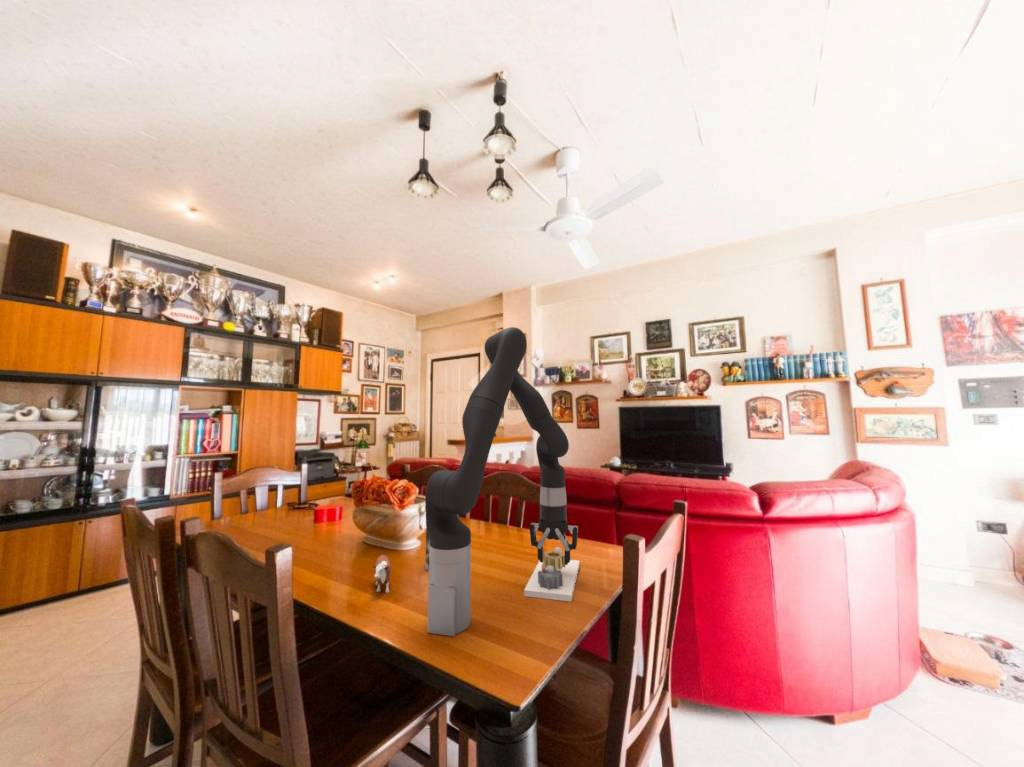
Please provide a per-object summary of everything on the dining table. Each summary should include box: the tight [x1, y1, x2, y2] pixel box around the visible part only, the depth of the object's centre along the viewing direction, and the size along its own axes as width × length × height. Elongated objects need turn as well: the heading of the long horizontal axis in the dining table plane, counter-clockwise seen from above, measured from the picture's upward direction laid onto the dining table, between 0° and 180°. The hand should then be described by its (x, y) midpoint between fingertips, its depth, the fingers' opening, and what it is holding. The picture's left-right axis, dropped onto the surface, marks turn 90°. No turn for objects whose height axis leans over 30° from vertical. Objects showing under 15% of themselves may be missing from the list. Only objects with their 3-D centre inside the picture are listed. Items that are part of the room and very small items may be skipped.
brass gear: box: [543, 550, 566, 570], centre depth 107 cm, size 6×6×3 cm
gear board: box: [523, 546, 581, 603], centre depth 107 cm, size 24×12×6 cm, turn 165°
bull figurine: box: [373, 554, 392, 594], centre depth 102 cm, size 4×13×8 cm, turn 15°
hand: (554, 562), depth 107 cm, fingers closed on brass gear, 6 cm apart
